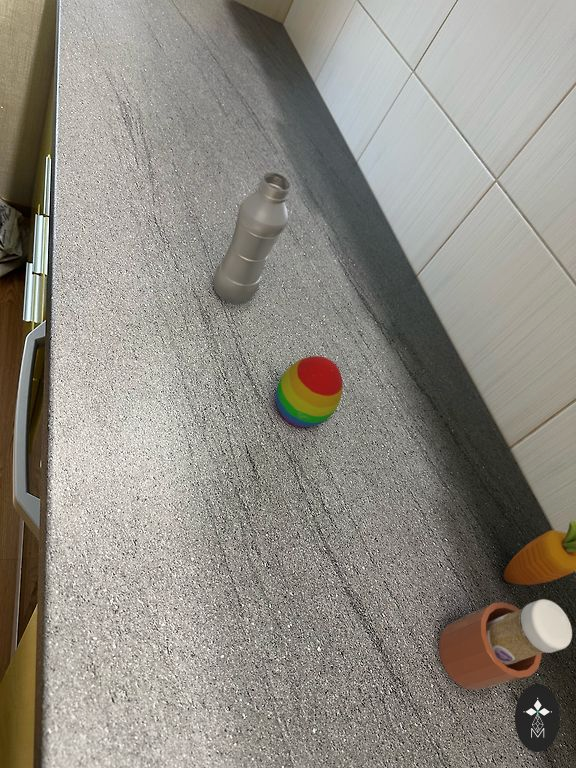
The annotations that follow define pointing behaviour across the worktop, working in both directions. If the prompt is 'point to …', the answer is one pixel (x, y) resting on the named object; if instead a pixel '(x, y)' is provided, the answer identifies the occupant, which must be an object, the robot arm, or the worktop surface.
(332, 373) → the decorative egg
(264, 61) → the worktop surface
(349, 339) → the worktop surface
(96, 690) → the worktop surface
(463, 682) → the terracotta pot
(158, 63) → the worktop surface
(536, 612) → the sprinkles bottle
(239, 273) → the plastic bottle
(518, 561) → the carrot
